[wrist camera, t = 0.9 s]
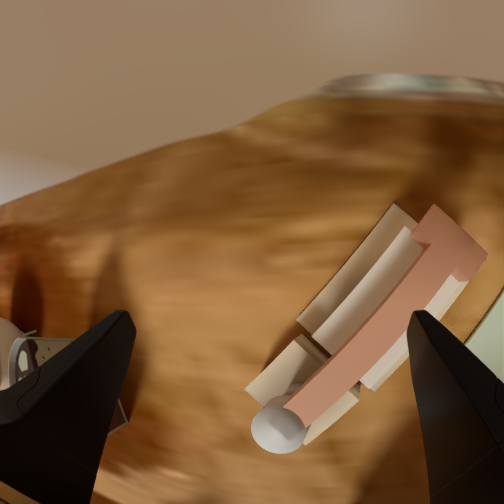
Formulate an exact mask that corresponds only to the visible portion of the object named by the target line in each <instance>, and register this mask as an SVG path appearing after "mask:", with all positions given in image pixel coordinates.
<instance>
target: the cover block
mask: <svg viewBox="0 0 504 504" xmlns="http://www.w3.org/2000/svg"><path fill="white" fill-rule="evenodd" d="M411 233H412V232H411V231H410V230H409V229H408V228H407V227H406V226H404V228H403V229H402V230H401V232H400V233H399V234H398V236H397V237H396V238H395V240H394V241H393V242H392V243H391V245H390V246H389V247H388V248H387V250H386V251H385V252H384V253H383V255H382V256H381V257H380V258H379V260H378V261H377V262H376V263H375V265H374V266H373V267H372V268H371V269H370V271H369V272H368V273H367V274H366V275H365V277H364V278H363V279H362V280H361V281H360V283H359V284H358V285H357V286H356V287H355V288H354V290H353V291H352V292H351V293H350V294H349V295H348V297H347V298H346V299H345V300H344V301H343V302H342V303H341V304H340V306H339V307H338V308H337V309H336V310H335V311H334V312H333V313H332V315H331V316H330V317H329V318H328V319H327V320H326V321H325V322H324V323H323V324H322V325H321V327H320V328H319V329H318V330H317V331H316V332H315V333H314V334H313V335H312V337H313V338H314V339H315V340H316V341H317V342H318V343H319V344H320V345H321V346H322V347H323V348H324V349H326V350H327V351H328V352H329V353H330V354H331V355H333V354H334V353H335V352H336V351H337V350H338V349H339V348H340V347H341V346H342V345H343V344H344V343H345V342H346V341H347V340H348V338H349V337H350V336H351V335H352V334H353V333H354V332H355V331H356V330H357V329H358V328H359V327H360V325H361V324H362V323H363V322H364V321H365V320H366V319H367V318H368V317H369V315H370V314H371V313H372V312H373V311H374V310H375V309H376V307H377V306H378V305H379V304H380V303H381V302H382V300H383V299H384V298H385V297H386V296H387V294H388V293H389V292H390V291H391V290H392V288H393V287H394V286H395V285H396V284H397V282H398V281H399V280H400V279H401V277H402V276H403V275H404V274H405V272H406V271H407V270H408V269H409V267H410V266H411V265H412V263H413V262H414V261H415V259H416V258H417V257H418V256H419V254H420V253H421V252H422V250H423V248H422V247H421V246H420V245H419V244H418V243H416V242H415V241H414V240H413V239H412V238H411V237H410V236H409V235H410V234H411ZM461 283H462V282H458V281H457V280H456V279H455V278H454V277H453V276H452V275H451V274H450V276H449V277H448V278H447V280H446V281H445V283H444V284H443V285H442V287H441V288H440V289H439V290H438V292H437V293H436V294H435V296H434V297H433V298H432V300H431V301H430V302H429V303H428V305H427V306H426V307H425V308H424V310H426V311H428V312H429V313H430V314H431V315H432V316H433V317H436V316H437V314H438V313H439V312H440V311H441V309H442V308H443V307H444V305H445V304H446V303H447V301H448V300H449V299H450V298H451V296H452V295H453V294H454V292H455V291H456V289H457V288H458V287H459V285H460V284H461ZM406 333H407V330H406V331H405V332H404V333H403V334H402V336H401V337H400V338H399V339H398V340H397V341H396V342H395V343H394V344H393V346H392V347H391V348H390V349H389V350H388V351H387V352H386V353H385V354H384V355H383V356H382V357H381V358H380V359H379V361H378V362H377V363H376V364H375V365H374V366H373V367H372V368H371V369H370V370H369V371H368V372H367V373H366V374H365V375H364V376H363V377H362V378H361V379H360V380H359V381H360V382H362V383H363V384H364V385H365V386H366V387H367V388H368V389H370V388H371V387H372V386H373V385H374V384H375V383H376V382H377V381H378V380H379V379H380V378H381V377H382V376H383V375H384V374H385V373H386V372H387V371H388V370H389V369H390V368H391V367H392V366H393V365H394V364H395V363H396V362H397V361H398V359H399V358H400V357H401V356H402V355H403V354H404V353H405V352H406V351H407V350H408V343H407V335H406Z"/></svg>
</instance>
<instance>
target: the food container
mask: <svg viewBox="0 0 504 504" xmlns="http://www.w3.org/2000/svg"><path fill="white" fill-rule="evenodd" d="M35 332H37V331H36V330H34V331H31V332H28V333H25V334H23V335H22V336H21V337H18V338H17V339H16V340H15V341H14V343H13V345H12V347H11V350H10V354H9V360H8V377H9V385H10V386H12V385H13V384H15V383H16V382H18V381H19V380H21V379H22V378H24V377H25V376H27V375H28V374H29V373H31V372H32V371H34V370H35V369H36V368H37V367H39V366H40V365H42V364H43V363H44V362H46V361H47V360H48V359H50V358H51V357H52V356H54V355H55V354H56V353H58V352H59V351H60V350H62V349H63V348H64V347H66V346H67V345H69V344H70V343H71V342H73V341H74V340H75V339H68V338H43V337H31V336H32V335H33V334H34V333H35ZM126 424H128V420H127V418H126V415H125V413H124V410H123V407H122V405H121V402H120V399H118V402H117V406H116V409H115V412H114V415H113V418H112V422H111V425H110V428H109V432H108V435H107V436H109V435H110V434H112V433H114V432H115V431H117V430H118V429H120V428H122V427H123V426H125V425H126Z"/></svg>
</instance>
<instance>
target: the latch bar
mask: <svg viewBox="0 0 504 504" xmlns="http://www.w3.org/2000/svg"><path fill="white" fill-rule="evenodd" d="M409 236H410V237H411V238H412V239H413V240H414V241H415V242H416V243H418V244H419V245H420V246H421V247H422V248H423V250H422V252H421V253H420V254H419V256H418V257H417V258H416V259H415V261H414V262H413V263H412V265H411V266H410V267H409V269H408V270H407V271H406V272H405V274H404V275H403V276H402V277H401V279H400V280H399V281H398V282H397V284H396V285H395V286H394V287H393V288H392V290H391V291H390V292H389V293H388V294H387V296H386V297H385V298H384V299H383V300H382V302H381V303H380V304H379V305H378V306H377V307H376V309H375V310H374V311H373V312H372V313H371V314H370V315H369V317H368V318H367V319H366V320H365V321H364V322H363V323H362V324H361V325H360V327H359V328H358V329H357V330H356V331H355V332H354V333H353V334H352V335H351V336H350V337H349V338H348V340H347V341H346V342H345V343H344V344H343V345H342V346H341V347H340V348H339V349H338V350H337V351H336V352H335V353H334V354H333V355H332V356H331V357H330V358H329V359H328V360H327V361H326V362H325V363H324V364H323V365H322V366H321V367H320V368H319V369H318V370H317V371H316V372H315V373H314V374H313V375H312V376H311V377H310V378H309V379H308V380H307V381H306V382H305V383H304V384H303V385H302V386H300V387H299V388H298V389H297V390H296V391H295V392H294V393H293V394H292V395H291V396H290V395H281V396H277V397H274V398H272V399H271V400H269V401H268V402H267V403H266V404H265V406H264V407H263V408H262V409H261V410H260V411H259V412H258V413H257V414H256V415H255V417H254V418H253V421H252V424H251V431H252V435H253V437H254V439H255V441H256V442H257V443H258V444H259V445H260V446H261V447H262V448H264V449H265V450H267V451H270V452H273V453H278V454H284V453H289V452H292V451H294V450H296V449H297V448H299V447H300V446H301V444H302V443H303V441H304V439H305V437H306V435H307V432H308V430H309V428H310V426H311V423H312V422H313V421H315V420H316V419H317V418H318V417H319V416H321V415H322V414H323V413H324V412H325V411H326V410H327V409H329V408H330V407H331V406H332V405H333V404H334V403H335V402H336V401H337V400H339V399H340V398H341V397H342V396H343V395H344V394H345V393H346V392H347V391H348V390H349V389H350V388H351V387H352V386H354V385H355V384H356V383H357V382H358V381H359V380H360V379H361V378H362V377H363V376H364V375H365V374H366V373H367V372H368V371H369V370H370V369H371V368H372V367H373V366H374V365H375V364H376V363H377V362H378V361H379V359H380V358H381V357H382V356H383V355H384V354H385V353H386V352H387V351H388V350H389V349H390V348H391V347H392V346H393V344H394V343H395V342H396V341H397V340H398V339H399V338H400V337H401V336H402V334H403V333H404V332H405V331H406V330H407V328H408V325H409V321H410V318H411V315H412V312H413V311H415V310H424V308H425V307H426V306H427V305H428V303H429V302H430V301H431V300H432V298H433V297H434V296H435V294H436V293H437V292H438V290H439V289H440V288H441V287H442V285H443V284H444V283H445V281H446V280H447V278H448V277H449V276H450V274H451V275H452V276H453V277H454V278H455V279H456V280H457V281H458V282H467V281H471V279H472V278H473V276H474V275H475V273H476V272H477V270H478V269H479V267H480V266H481V264H482V263H483V261H484V260H485V258H486V257H487V255H488V253H487V252H486V251H485V250H484V249H483V248H482V247H481V246H480V245H479V244H478V243H477V242H476V241H475V240H474V239H473V238H471V237H470V236H469V235H468V234H467V233H466V232H465V231H464V230H463V229H462V228H461V227H460V226H459V225H458V224H457V223H456V222H454V221H453V220H452V219H451V218H450V217H449V216H448V215H447V214H446V213H444V212H443V211H442V210H441V209H440V208H439V207H438V206H436V205H435V204H433V205H432V206H431V207H430V209H429V210H428V211H427V212H426V214H425V215H424V216H423V218H422V219H421V221H420V222H419V223H418V225H417V226H416V227H415V229H414V230H413V231H412V233H411V234H410V235H409Z"/></svg>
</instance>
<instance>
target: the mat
mask: <svg viewBox="0 0 504 504" xmlns="http://www.w3.org/2000/svg"><path fill="white" fill-rule="evenodd" d="M464 345H465V346H466V347H467V348H468V349H469V350H470V351H471V352H473V353H474V354H475V355H476V356H477V357H478V358H479V359H480V360H481V361H482V362H483V363H484V364H485V365H486V366H487V367H488V368H489V369H490V370H491V371H492V372H493V373H494V374H495V375H496V376H497V378H499V379H500V380H501V381H502V382H503V383H504V289H503V291H502V292H501V294H500V295H499V297H498V298H497V300H496V301H495V303H494V304H493V306H492V307H491V309H490V310H489V312H488V313H487V314H486V316H485V317H484V319H483V320H482V321H481V323H480V324H479V325H478V327H477V328H476V329H475V331H474V332H473V333H472V335H471V336H470V337H469V339H468V340H467V341H466V342H465V344H464Z"/></svg>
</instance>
